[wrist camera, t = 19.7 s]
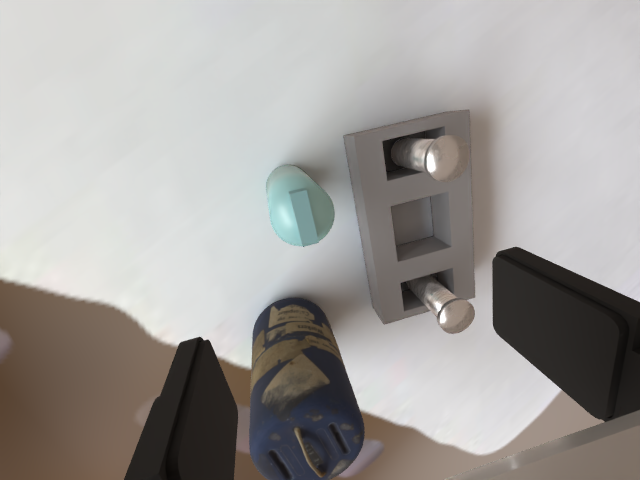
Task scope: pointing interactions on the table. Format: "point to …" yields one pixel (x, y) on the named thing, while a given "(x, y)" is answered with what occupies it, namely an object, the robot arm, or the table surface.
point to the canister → (300, 396)
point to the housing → (400, 187)
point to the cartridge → (298, 206)
